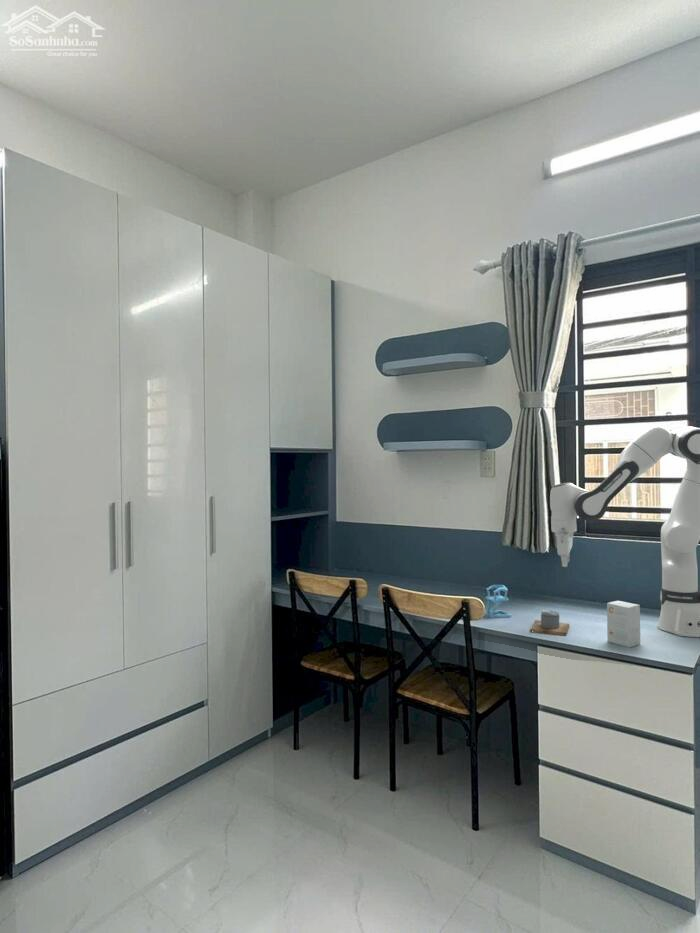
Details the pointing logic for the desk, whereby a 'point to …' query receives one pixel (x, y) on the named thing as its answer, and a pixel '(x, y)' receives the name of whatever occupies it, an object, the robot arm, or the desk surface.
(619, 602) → the small box
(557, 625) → the knob
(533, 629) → the wooden peg board
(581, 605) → the desk surface
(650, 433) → the robot arm
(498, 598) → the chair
